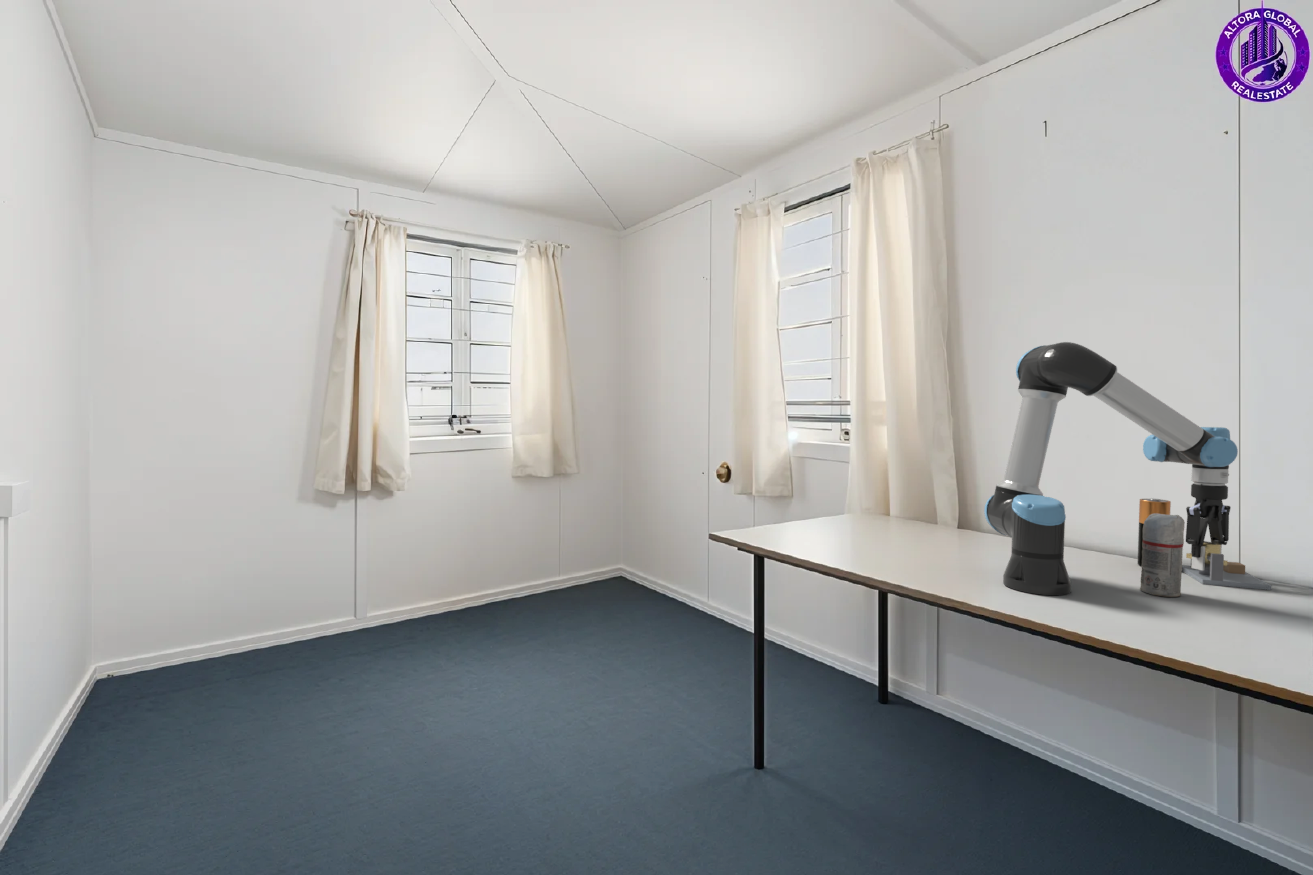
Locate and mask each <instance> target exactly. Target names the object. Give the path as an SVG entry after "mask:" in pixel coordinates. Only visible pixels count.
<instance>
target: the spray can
mask: <svg viewBox="0 0 1313 875" xmlns="http://www.w3.org/2000/svg"><path fill="white" fill-rule="evenodd" d="M1184 531H1185V520H1184V518H1183V517H1182V516H1180V515H1178V514H1170V515H1165V514H1157V513H1156V514H1155V513H1154V514H1151V515H1149V516H1148V518H1147V519H1146V520H1145V521H1144V525H1143V542H1142V547H1143V550H1142V566H1141V572H1140V573H1141V574H1140V587H1139V590H1140V591H1141V592H1143V593H1145V594H1150V595H1153V596H1159V597H1164V598H1165V597H1166V598H1177V597H1180V596H1182V592H1181V589H1182V572H1183V571H1182V565H1183V550H1184V549H1183V548H1184V544H1185V541H1184V540H1185V538H1184Z"/></svg>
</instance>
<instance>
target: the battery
mask: <svg viewBox="0 0 1313 875" xmlns="http://www.w3.org/2000/svg"><path fill="white" fill-rule="evenodd" d="M1138 505H1139V506H1138V508H1139V509H1138V511H1139V512H1138V532H1137V533H1138V535H1137V536H1138V537H1137V540H1138V541H1137V565H1139V566H1141V567H1142V550H1143V547H1142V542H1143V525H1144V521H1145V520H1146V519H1147V518H1148V516H1149V515H1151V514H1154V513H1155V514H1156V513H1157V514H1165V515H1171V507H1172V506H1171V505H1172V502H1171V500H1167V499H1162V498H1140V499H1139V504H1138Z"/></svg>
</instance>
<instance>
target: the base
mask: <svg viewBox="0 0 1313 875" xmlns="http://www.w3.org/2000/svg"><path fill="white" fill-rule="evenodd" d="M1190 545H1191V547H1190V549H1191V552H1190V553H1191V554H1192V544H1190ZM1207 559H1208V560H1209V561H1210V564H1208V563H1205V570H1198V569H1194V568H1191V567H1192V559H1190V565H1188V564H1187V565H1185V564H1182V571H1181V572H1183V573H1184V572H1185V574H1186V575H1187V574H1188V576H1189V577H1191V578H1192V579H1194V580H1195V581H1197V582H1199V583H1200V584H1202V585H1209V586H1221V587H1223V586H1224V587H1233V588H1244V589H1245V588H1247V589H1254V590H1255V589H1256V590H1266V589H1267V591H1271V590H1272V584H1270V583H1267V582H1266V581H1265V580H1262V579H1260V578H1258V577H1255V576H1254V575H1252V574H1250V573H1249V572H1247V571H1246V565H1245V564H1243V563H1242V562H1239V561H1238V562H1237V561H1227V565H1225V566H1224V560H1225V554H1223V553H1221V554H1215V553H1211V556H1207Z"/></svg>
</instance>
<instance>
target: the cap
mask: <svg viewBox="0 0 1313 875" xmlns="http://www.w3.org/2000/svg"><path fill="white" fill-rule="evenodd" d="M1203 546H1205V563H1208V564H1210V561H1209V560H1208V559H1207V556H1211V553H1215V554H1220V553H1221V554H1222V550H1221V544H1218V543H1213V542H1211V541H1207V540H1204V543H1203ZM1185 557H1186V559H1190V560H1191V559H1192V554H1191V552H1187V553H1186V555H1185ZM1227 562H1228V560H1225V559H1224V566H1225V565H1227Z"/></svg>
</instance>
